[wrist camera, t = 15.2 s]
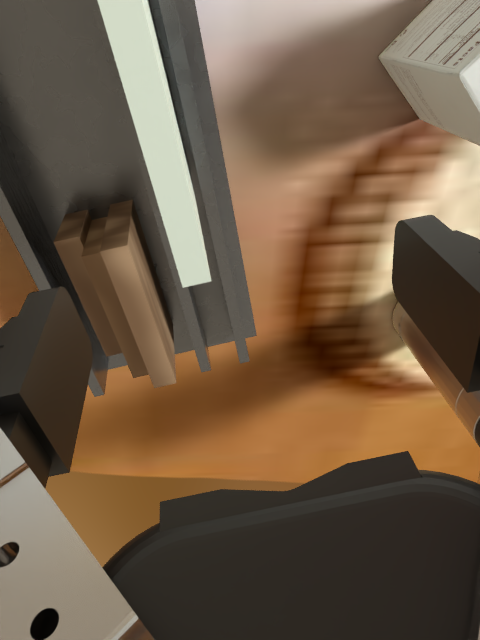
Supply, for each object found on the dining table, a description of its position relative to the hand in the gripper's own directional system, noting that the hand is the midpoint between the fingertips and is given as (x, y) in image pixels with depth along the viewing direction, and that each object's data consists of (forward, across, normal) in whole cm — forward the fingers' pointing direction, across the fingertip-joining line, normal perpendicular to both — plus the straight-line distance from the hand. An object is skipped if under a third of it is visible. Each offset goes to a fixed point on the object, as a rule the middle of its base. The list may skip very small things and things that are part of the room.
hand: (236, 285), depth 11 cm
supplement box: (+32, -21, +1) cm, 38 cm away
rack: (+31, +7, +7) cm, 33 cm away
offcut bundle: (+30, +10, +15) cm, 34 cm away
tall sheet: (+30, +2, -1) cm, 30 cm away
